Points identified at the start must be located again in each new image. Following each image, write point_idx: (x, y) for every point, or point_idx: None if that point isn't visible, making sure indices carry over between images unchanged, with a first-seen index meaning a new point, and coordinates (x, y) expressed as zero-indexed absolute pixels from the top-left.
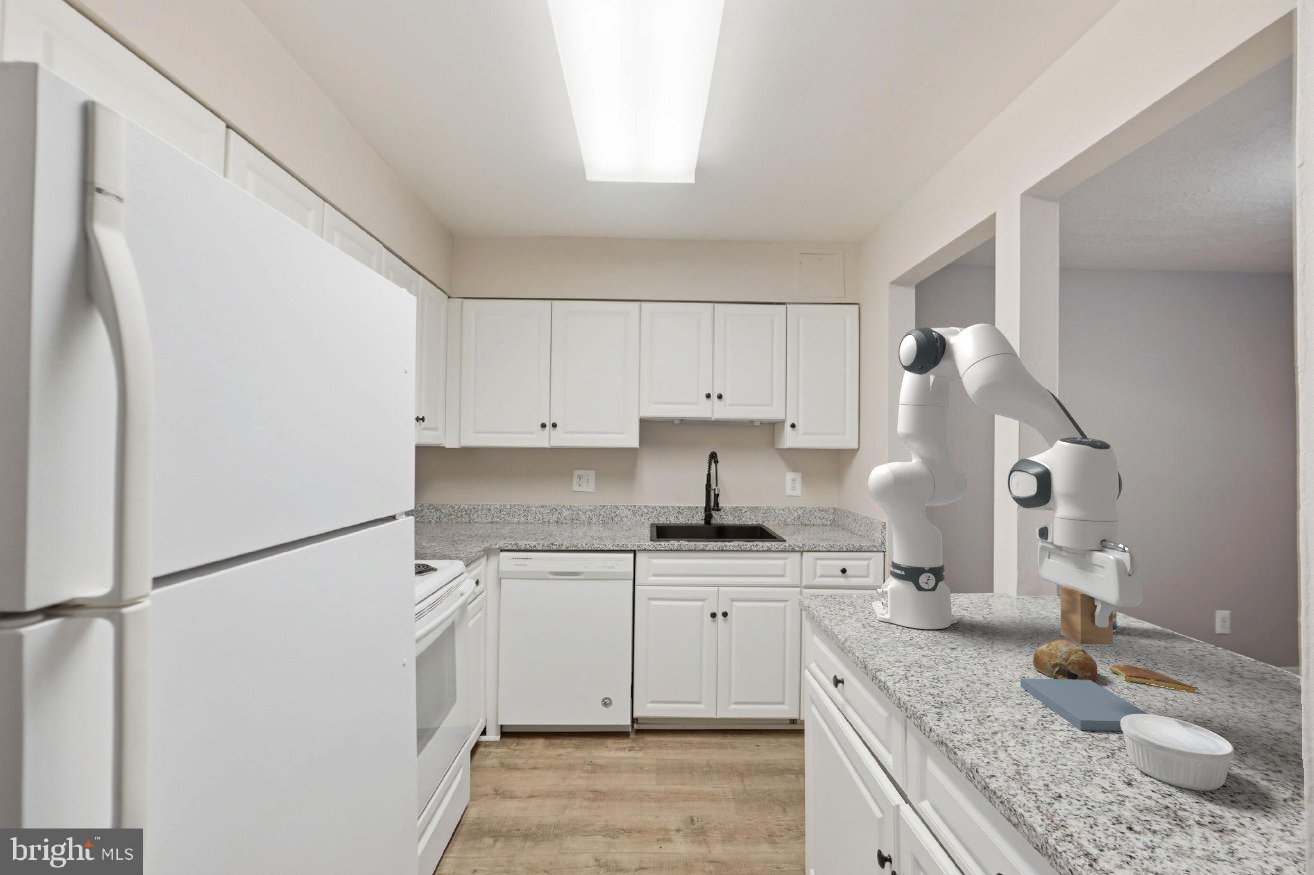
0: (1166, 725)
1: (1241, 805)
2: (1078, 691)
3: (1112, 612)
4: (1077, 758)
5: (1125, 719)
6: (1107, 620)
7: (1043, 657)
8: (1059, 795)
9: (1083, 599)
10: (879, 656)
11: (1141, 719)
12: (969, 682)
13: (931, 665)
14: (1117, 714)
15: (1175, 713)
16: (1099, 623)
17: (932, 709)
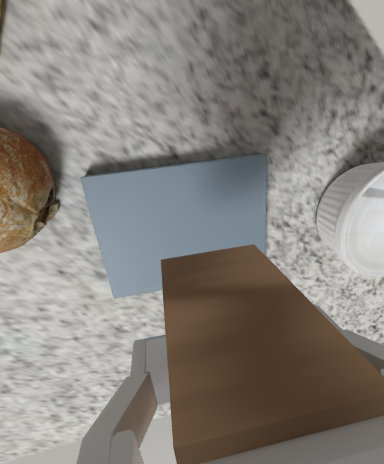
0: (379, 220)
1: None
2: (154, 228)
3: (313, 305)
4: (321, 292)
5: (356, 265)
6: (329, 320)
7: (10, 248)
8: (373, 326)
9: None
10: (42, 436)
11: (359, 244)
12: (118, 349)
13: (56, 384)
14: (242, 211)
15: (180, 69)
16: None
17: None
